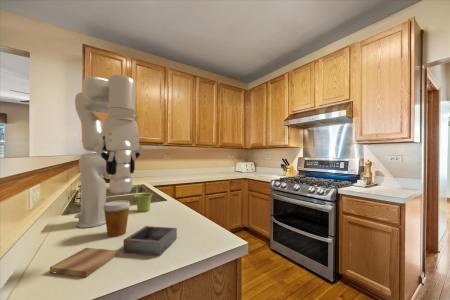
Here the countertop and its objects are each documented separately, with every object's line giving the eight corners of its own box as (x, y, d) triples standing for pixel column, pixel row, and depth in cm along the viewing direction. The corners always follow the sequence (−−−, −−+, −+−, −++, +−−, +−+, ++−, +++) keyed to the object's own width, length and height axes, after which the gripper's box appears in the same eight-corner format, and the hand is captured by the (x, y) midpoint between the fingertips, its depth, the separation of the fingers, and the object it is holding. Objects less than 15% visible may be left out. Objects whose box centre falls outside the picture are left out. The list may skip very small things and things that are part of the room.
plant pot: (130, 212, 105) (130, 196, 106) (140, 208, 115) (140, 193, 115) (146, 213, 104) (146, 197, 104) (155, 208, 113) (155, 193, 113)
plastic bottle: (114, 197, 57) (115, 128, 58) (105, 193, 62) (106, 130, 62) (136, 193, 62) (137, 130, 63) (126, 191, 67) (127, 131, 67)
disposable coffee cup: (135, 230, 80) (135, 201, 81) (115, 240, 71) (116, 206, 72) (117, 227, 83) (118, 199, 84) (96, 236, 74) (96, 204, 75)
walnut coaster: (49, 273, 52) (49, 267, 52) (86, 252, 62) (86, 247, 62) (86, 277, 50) (86, 271, 50) (117, 255, 61) (117, 250, 61)
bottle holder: (123, 252, 62) (123, 239, 62) (145, 236, 74) (145, 226, 74) (160, 256, 60) (160, 242, 60) (176, 239, 72) (176, 227, 72)
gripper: (141, 121, 71) (140, 171, 71) (85, 113, 58) (84, 175, 58) (152, 118, 67) (152, 172, 66) (95, 109, 53) (94, 177, 53)
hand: (120, 173), depth 62 cm, fingers closed on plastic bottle, 5 cm apart
